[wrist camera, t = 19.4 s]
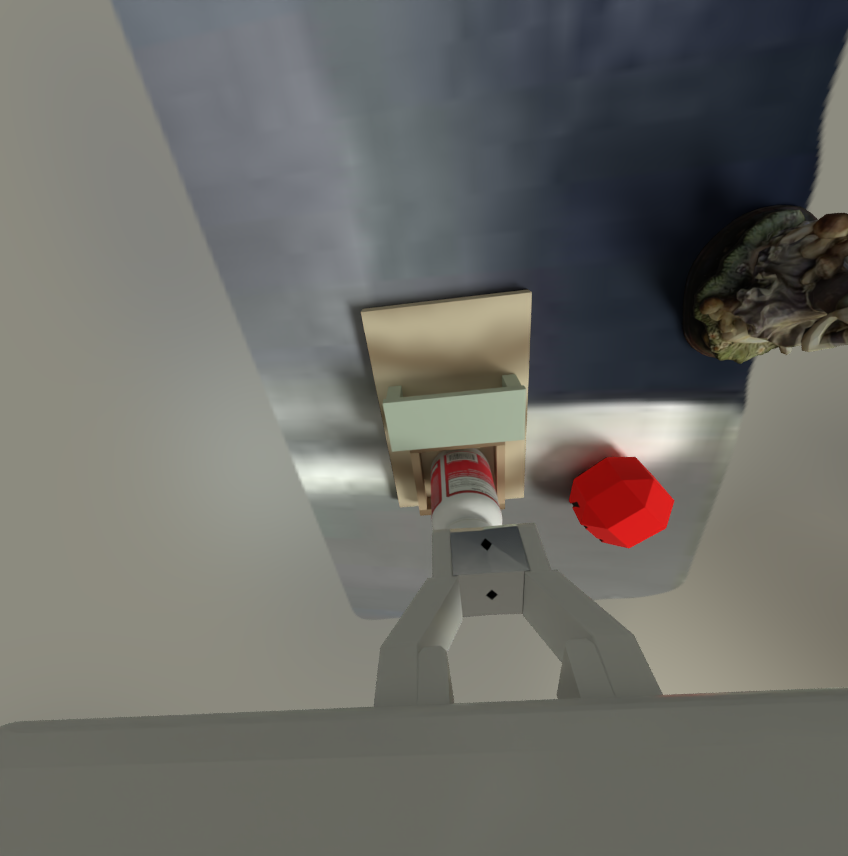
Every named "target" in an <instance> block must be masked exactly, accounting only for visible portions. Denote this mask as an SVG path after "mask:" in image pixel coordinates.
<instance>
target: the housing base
mask: <svg viewBox="0 0 848 856" xmlns="http://www.w3.org/2000/svg"><path fill="white" fill-rule="evenodd" d="M531 299H532V292H531V291H529V290H520V291H512V292H503V293H494V294H486V295H477V296H469V297H460V298H452V299H443V300H434V301H426V302H417V303H409V304H400V305H392V306H383V307H375V308H366V309H363V310H362V311H361V316H362V321H363V326H364V331H365V336H366V341H367V346H368V351H369V356H370V361H371V366H372V371H373V376H374V381H375V386H376V391H377V396H378V400H379V405H380V410H381V415H382V420H383V425H384V430H385V435H386V440H387V445H388V450H389V455H390V460H391V465H392V470H393V475H394V480H395V485H396V490H397V495H398V500H399V505H400V507H411V506H419V510H420V516H421V515H431V465H432V462H433V460H434V459H435V457H436V456H437V455H438V454H439V453H440V452H441V451H444V450H455V449H467V448H476V449H478V450H479V451H480V452H482V453H483V454H484V456H485V457H486V459H487V461H488V463H489V466H490V470H491V474H492V478H493V482H494V486H495V490H496V494H497V497H498V502H499V506H500V509H505V499H512V498H524V476H525V450H526V425H527V400H528V375H529V350H530V325H531ZM509 374H516V376H517V378H518V380H519V381H520V383H521V385H524V386H525V388H526V410H525V437H524V440H517V441H506V442H494V443H483V444H472V445H461V446H450V447H439V448H427V449H416V450H405V451H394V452H392V449H391V444H390V439H389V434H388V428H387V423H386V418H385V413H384V408H383V400H384V399H386V396H387V392H388V387H391V386H402V392H403V397H410V396H420V395H431V394H441V393H451V392H461V391H471V390H481V389H491V388H501V387H502V375H509Z"/></svg>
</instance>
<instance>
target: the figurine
mask: <svg viewBox="0 0 848 856" xmlns="http://www.w3.org/2000/svg"><path fill="white" fill-rule="evenodd" d="M683 332H684V336H685V338H686V340H687V342H688V343H689V344H690V346H691V347H692V348H694V349H695V350H697V351H698V352H700V353H701V354H703V355H706V356H709V357H714V358H717V359H718V360H726V359H728V360H734V361H735V362H737V363H740V364H741V363H743V362H744V361H746V360H748V359H751V358H753V357H755V356H757V355H763V354H764V353H767V352H769V351H770V350H771V349H774V348H777V347H779V348H780V351H781V353H784V354H786V355H787V354H789V353H791V349H792V347H795V346H799V345H801V346H802V351H807V352H811V351H816V350H822V349H827V348H834V347H837V346H840V345H848V214H847V213H834V214H826V215H824V216H823V217H822V218H820V219H819V220H818V219H817V218H816V217H815V216H814V215H813V214H811V213H810V212H809V211H807V210H806V209H804V208H802V207H797V206H790V205H775V206H769V207H764V208H760V209H756V210H754V211H751V212H748V213H746V214H744V215H742V216H740V217H739V218H737V219H735V220H734V221H732V222H731V223H730V224H728V225H727V226H726V227H725V228H723V229H722V230H721V231H720V232H719V233H718V234H716V235H715V236H714V237H713V238H712V239H711V240H710V241H709V242H708V243H707V245H706V246H705V247H704V248H703V249H702V251H701V252H700V254H699V255H698V257H697V258H696V260H695V261H694V263H693V265H692V267H691V269H690V271H689V274H688V277H687V280H686V286H685V292H684V300H683Z"/></svg>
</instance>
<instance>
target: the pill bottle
mask: <svg viewBox="0 0 848 856" xmlns="http://www.w3.org/2000/svg"><path fill="white" fill-rule="evenodd" d="M431 515H432V527H433V530H441V529H449V530H450V529H456V528H477V527H486V526H498V525H502V514H501V510H500V506H499V502H498V497H497V494H496V490H495V486H494V482H493V478H492V474H491V470H490V466H489V463H488V461H487V459H486V457H485V456H484V454H483V453H482V452H480V451H479V450H478V449H476V448H467V449H455V450H444V451H441V452H440V453H439V454H438V455H437V456H436V457H435V459H434V460H433V462H432V465H431Z"/></svg>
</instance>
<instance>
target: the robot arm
mask: <svg viewBox="0 0 848 856" xmlns="http://www.w3.org/2000/svg"><path fill="white" fill-rule="evenodd" d="M497 614H523V616H524V617H525V618H526V620H527V621H528V622H529V623H530V625H531V626H532V627H533V628H534V629H535V631H536V632H537V633H538V634H539V636H540V637H541V638H542V639H543V640H544V641H545V643H546V644H547V645H548V646H549V648H550V649H551V650H552V651H553V653H554V654H555V655H556V656H557V657H558V659H559V660H560V661H561V662H562V667H561V673H560V679H559V684H558V690H557V698H558V699H553V700H526V701H503V702H479V703H454V696H453V690H452V683H451V676H450V669H449V663H448V657H447V652H448V650H449V648H450V646H451V643H452V641H453V639H454V637H455V635H456V632H457V631H458V628H459V626H460V624H461V622H462V620H463V617H470V616H482V615H497ZM0 856H848V687H843V688H818V689H795V690H770V691H747V692H724V693H699V694H673V695H663V694H662V692H661V690H660V688H659V686H658V684H657V682H656V679H655V677H654V676H653V673H652V672H651V669H650V667H649V665H648V663H647V661H646V659H645V657H644V655H643V653H642V651H641V649H640V647H639V644H638V642H637V641H636V638H635V636H634V635H633V634H632V633H631V632H630V631H629V630H627V629H626V628H625V627H624V626H623V625H621V624H620V623H619V622H618V621H617V620H616V619H615V618H613V617H612V616H611V615H610V614H608V613H607V612H606V611H605V610H604V609H603V608H601V607H600V606H599V605H598V604H597V603H596V602H594V601H593V600H592V599H591V598H590V597H589V596H587V595H586V594H585V593H584V592H583V591H581V590H580V589H579V588H578V587H577V586H576V585H574V584H573V583H572V582H571V581H570V580H568V579H567V578H566V577H565V576H564V575H563V574H561V573H560V572H559V571H558V570H551V567H550V564H549V561H548V558H547V556H546V553H545V550H544V547H543V544H542V541H541V538H540V536H539V533H538V530H537V527H536V525H535V524H534V523H523V524H509V525H498V526H486V527H477V528H456V529H450V530H449V529H441V530H433V532H432V578H427V580H426V581H425V582H424V584H423V585H422V587H421V588H420V590H419V591H418V593H417V594H416V596H415V597H414V599H413V600H412V602H411V603H410V605H409V606H408V608H407V609H406V610H405V612H404V613H403V615H402V616H401V618H400V619H399V621H398V622H397V624H396V625H395V627H394V628H393V630H392V631H391V633H390V634H389V636H388V637H387V638H386V640H385V641H384V643H383V644H382V646H381V648H380V656H379V664H378V673H377V682H376V690H375V699H374V707H358V708H334V709H310V710H287V711H262V712H238V713H214V714H191V715H167V716H142V717H118V718H93V719H68V720H42V721H20V722H14V723H9V724H6V725H3V726H1V727H0Z"/></svg>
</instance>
